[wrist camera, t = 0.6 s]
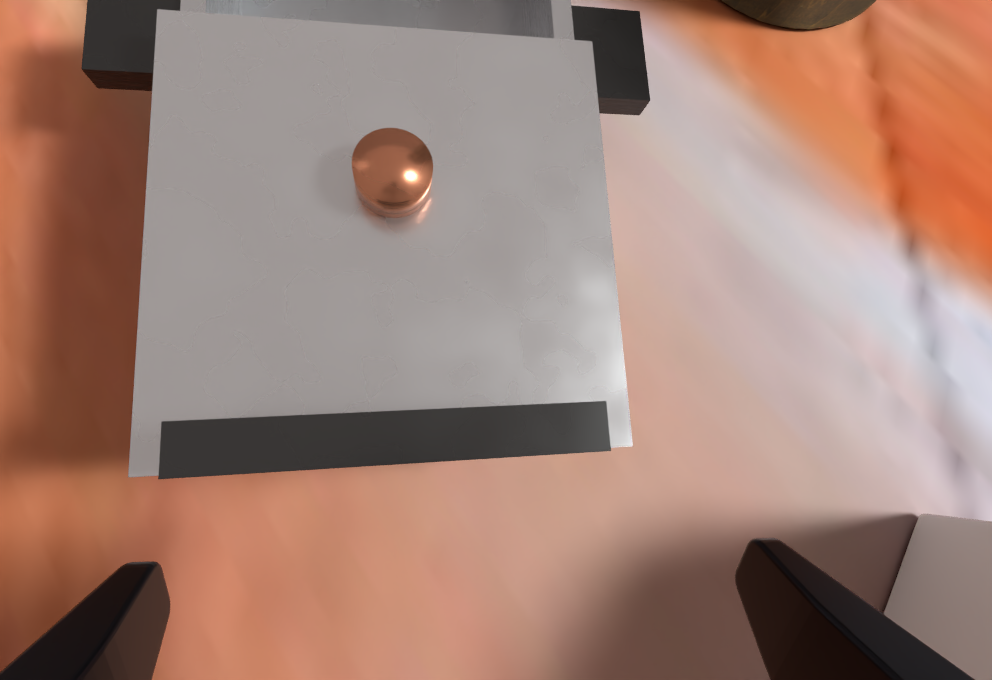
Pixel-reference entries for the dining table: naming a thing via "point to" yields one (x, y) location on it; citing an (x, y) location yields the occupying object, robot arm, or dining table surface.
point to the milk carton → (948, 591)
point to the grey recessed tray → (398, 3)
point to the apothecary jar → (801, 11)
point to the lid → (372, 250)
